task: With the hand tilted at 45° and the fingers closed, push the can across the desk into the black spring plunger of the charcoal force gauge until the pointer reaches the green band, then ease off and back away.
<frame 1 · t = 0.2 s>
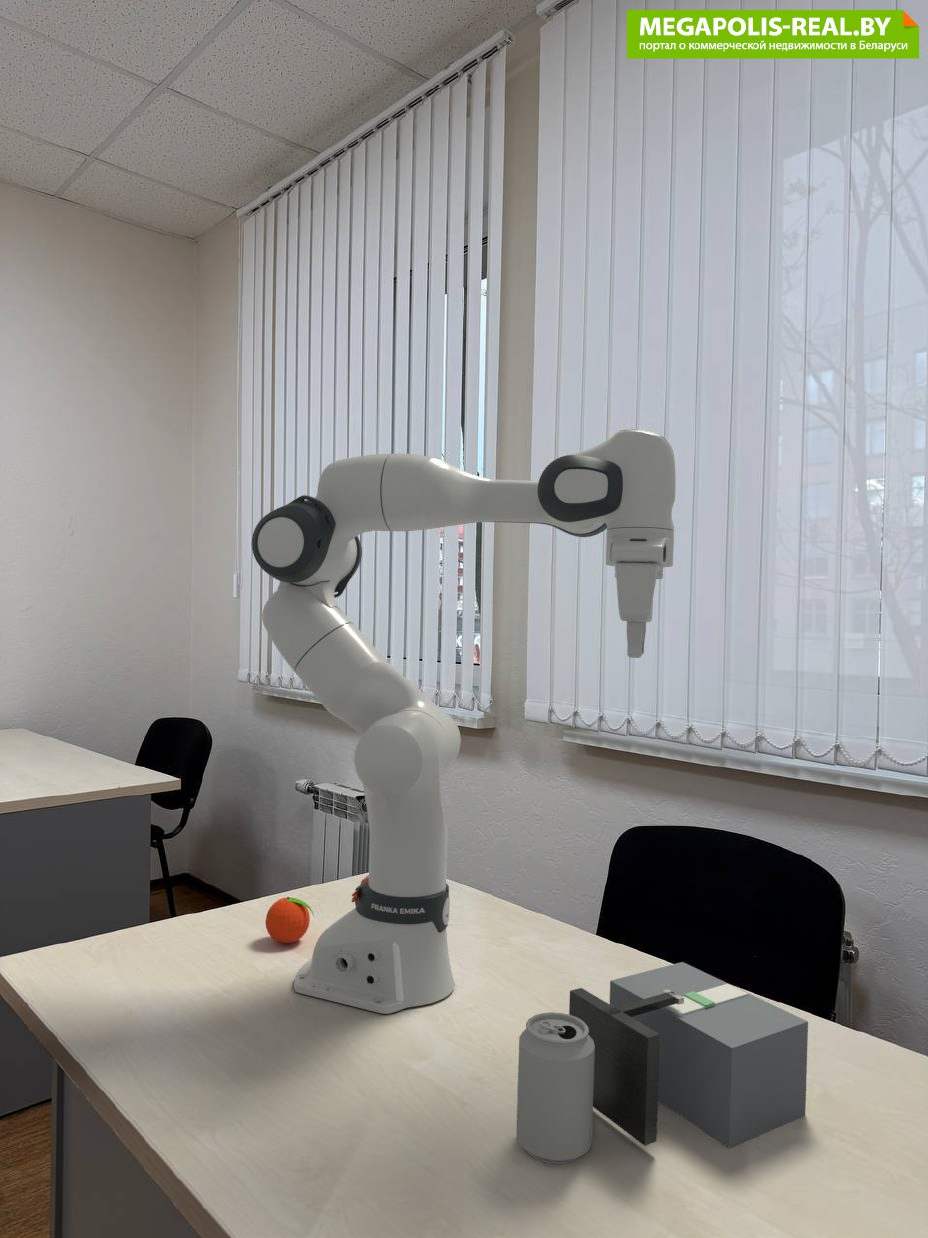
hand: (635, 656, 113), 48 cm above the table, fingers open, 8 cm apart
can: (553, 1147, 84), on the table
gauge housing: (663, 1103, 92), on the table
clementine: (290, 943, 135), on the table
gauge plunger: (640, 1052, 90), point 6 cm above the table, slide at 0.0 cm
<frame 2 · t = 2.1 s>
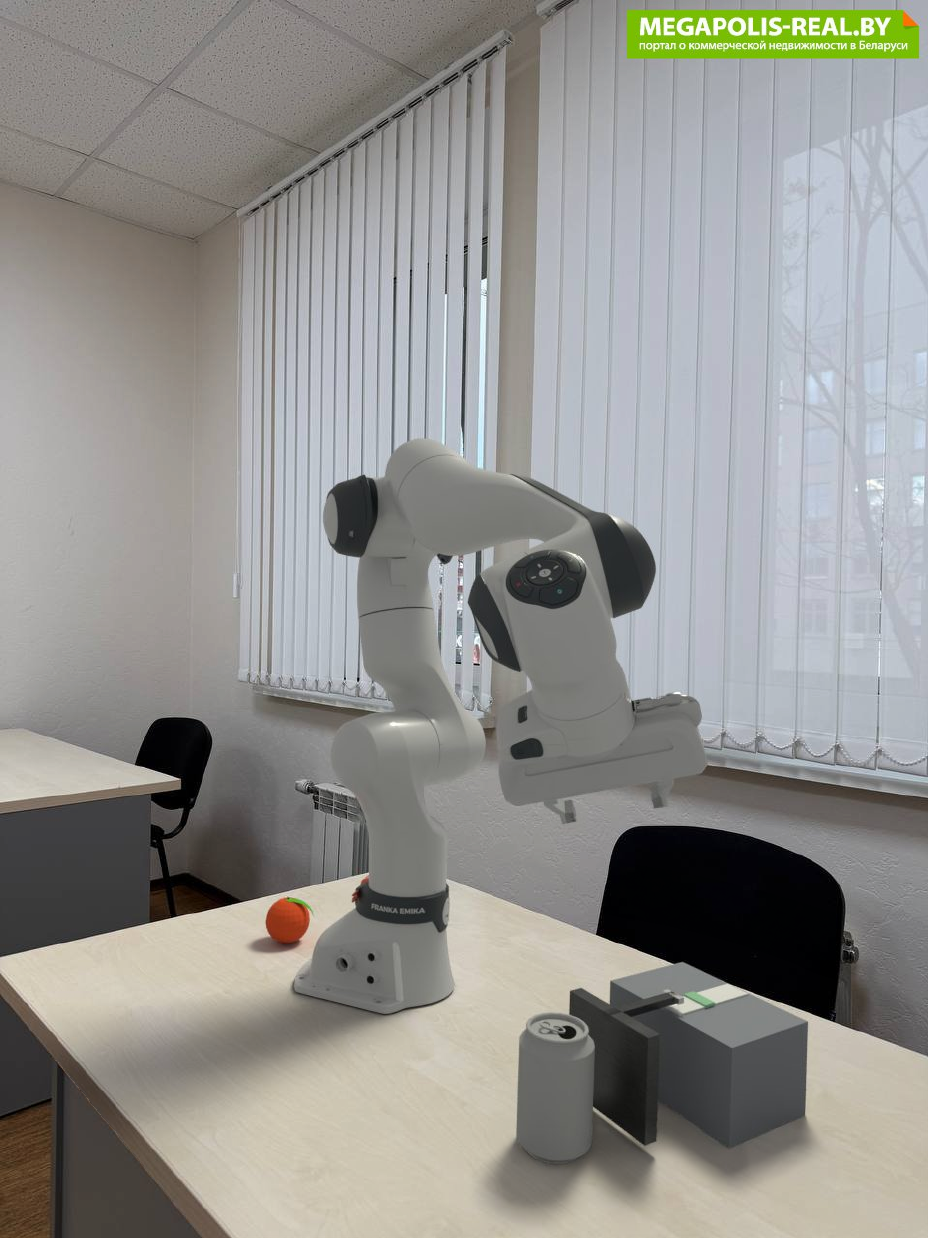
hand: (614, 811, 87), 33 cm above the table, fingers open, 8 cm apart
nothing on the table moved.
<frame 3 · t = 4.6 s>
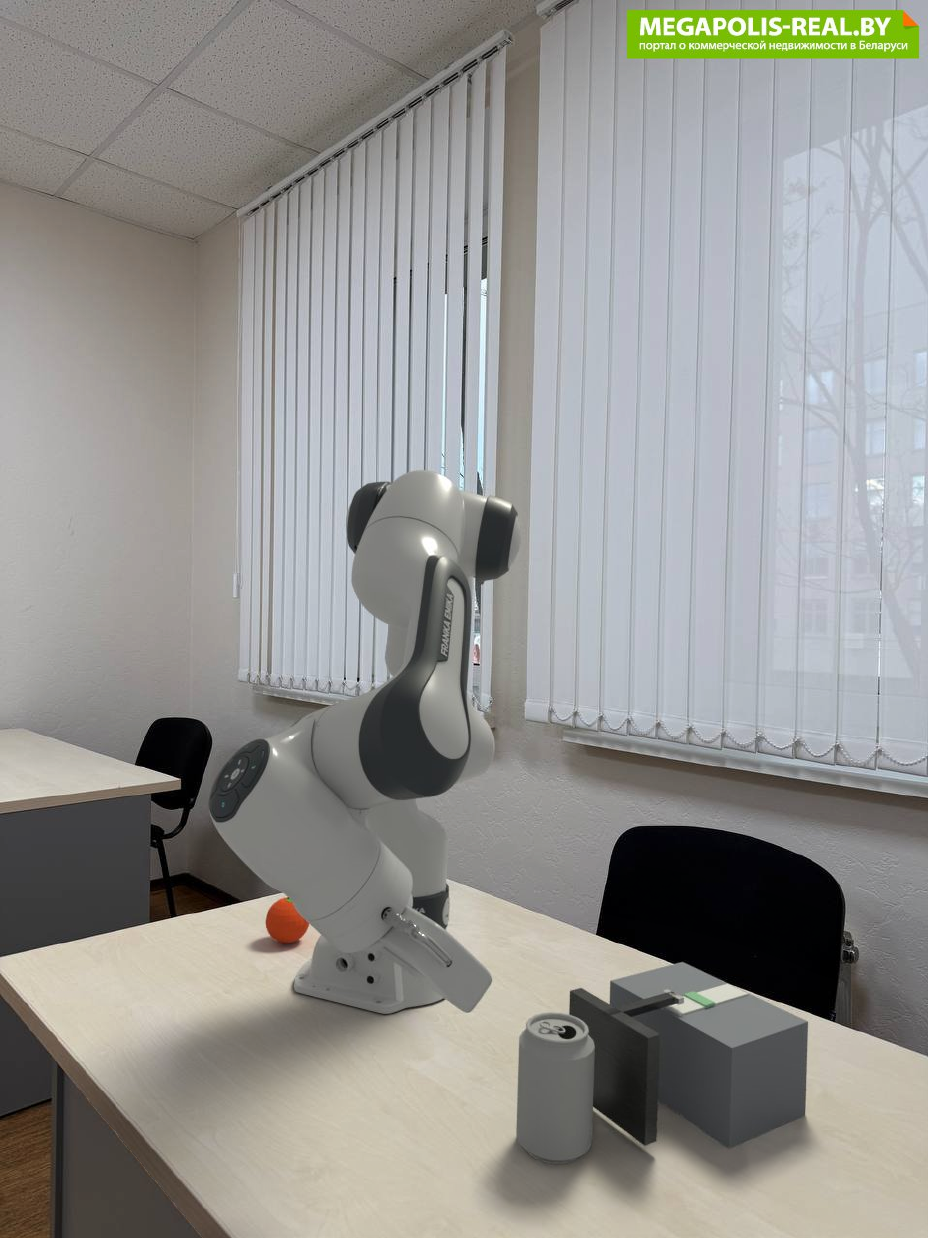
hand: (455, 988, 77), 18 cm above the table, fingers closed
nothing on the table moved.
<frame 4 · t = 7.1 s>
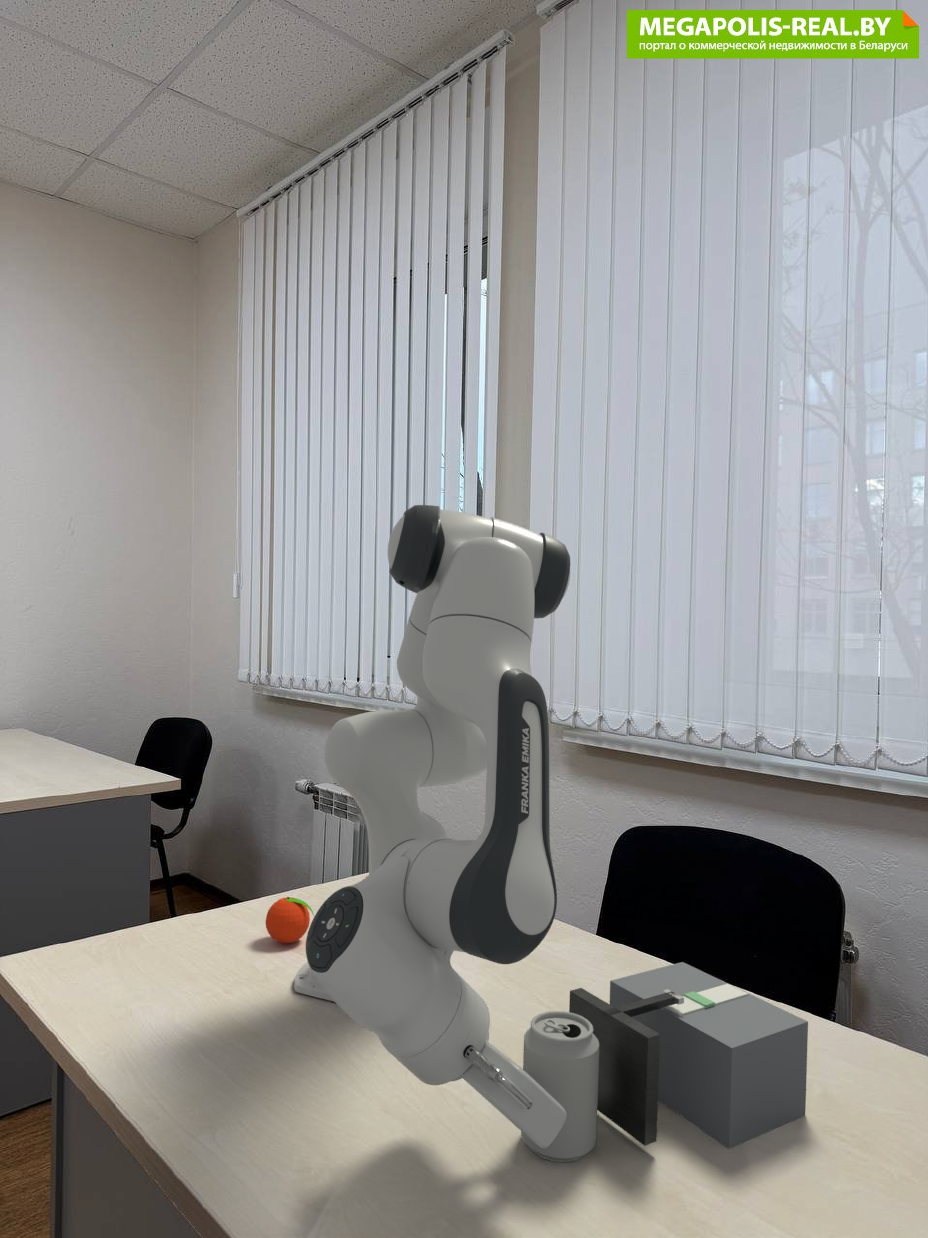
hand: (523, 1107, 82), 5 cm above the table, fingers closed, pressing on can
can: (558, 1145, 84), on the table, touching gripper
everything else where it was.
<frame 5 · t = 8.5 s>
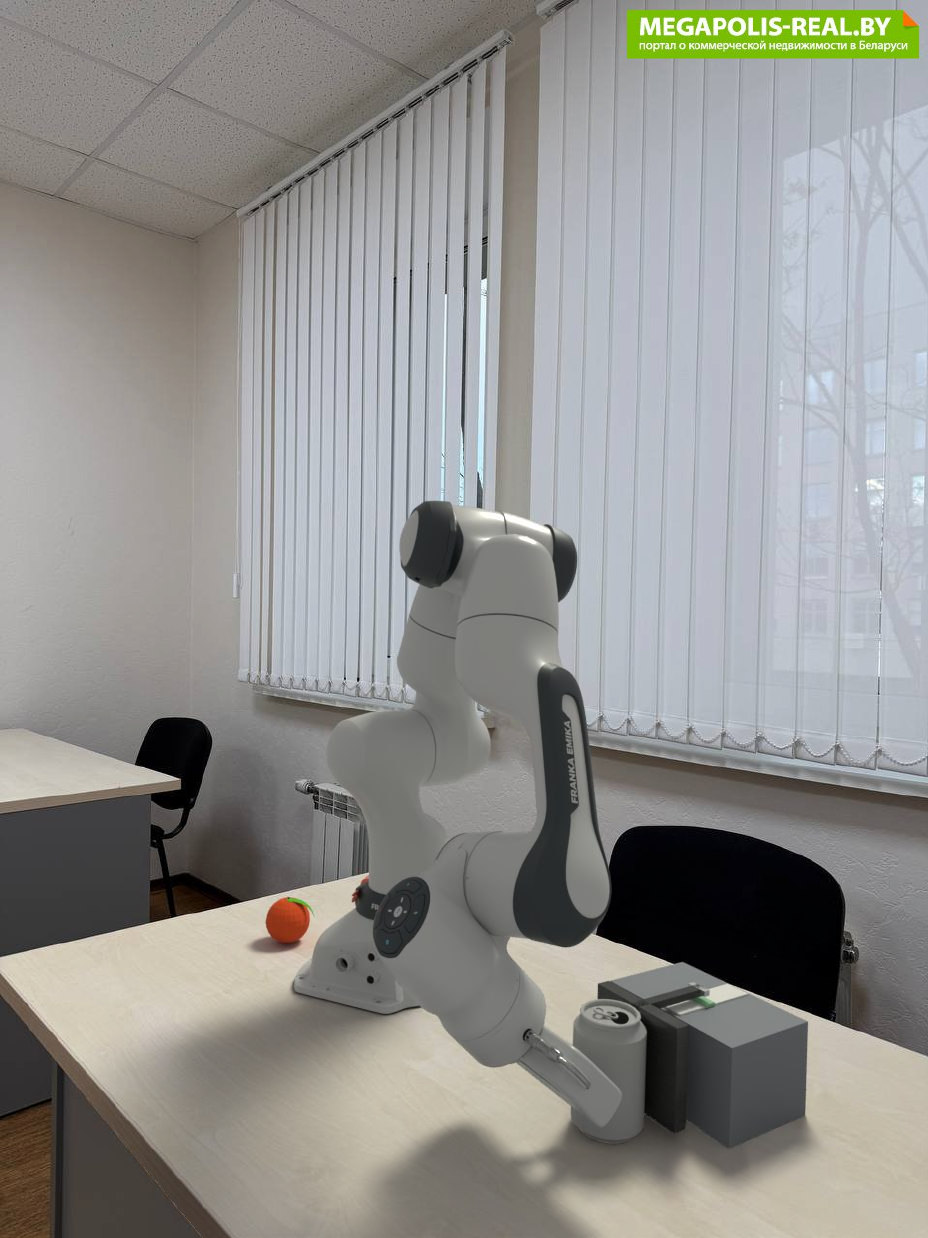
hand: (574, 1090, 85), 5 cm above the table, fingers closed, pressing on can
can: (606, 1128, 88), on the table, touching gauge plunger, gripper
gauge plunger: (667, 1043, 92), point 6 cm above the table, slide at 4.0 cm, touching can
everything else where it was.
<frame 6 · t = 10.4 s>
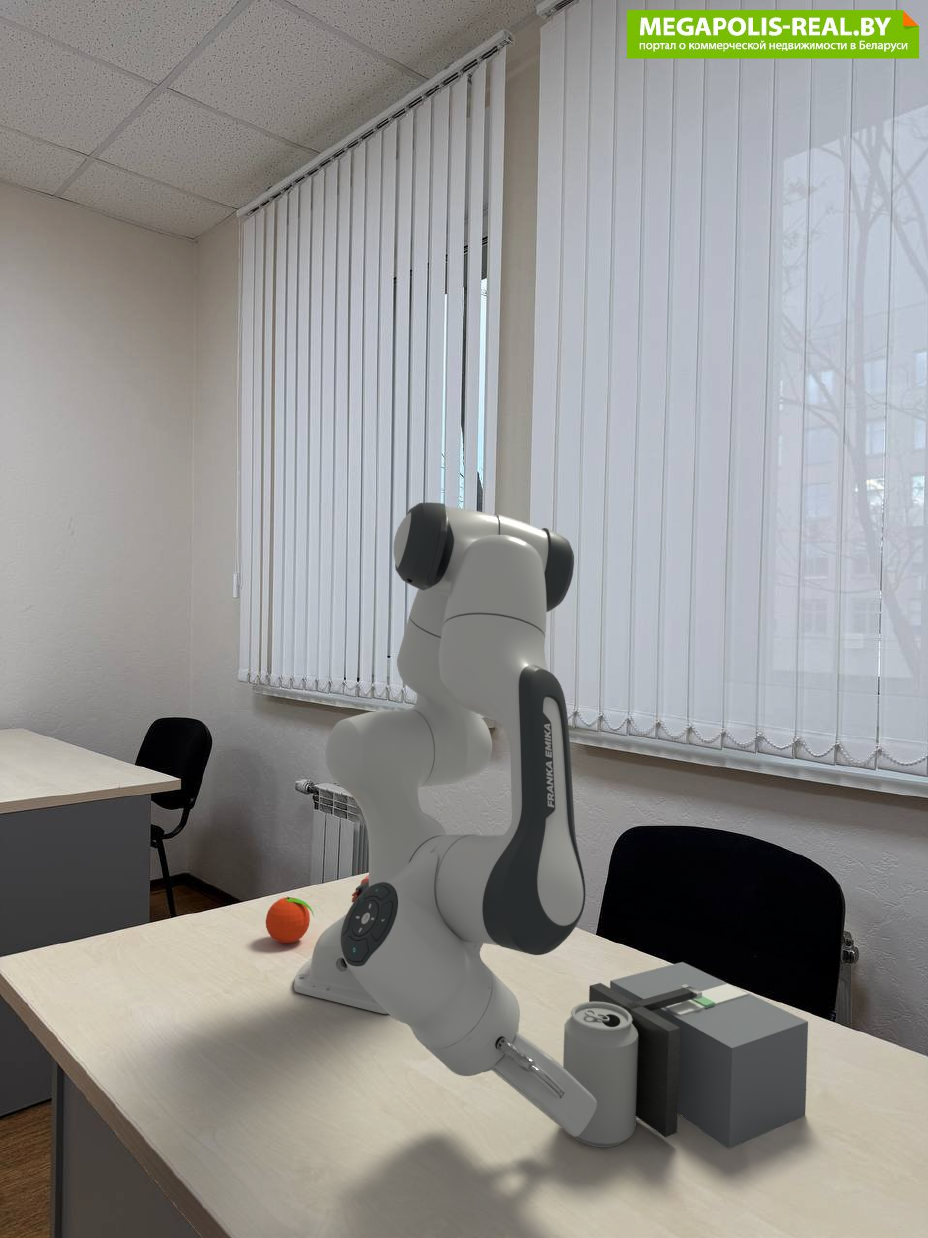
hand: (551, 1097, 84), 5 cm above the table, fingers closed
can: (597, 1132, 87), on the table, touching gauge plunger
gauge plunger: (659, 1046, 92), point 6 cm above the table, slide at 2.8 cm, touching can
everything else where it was.
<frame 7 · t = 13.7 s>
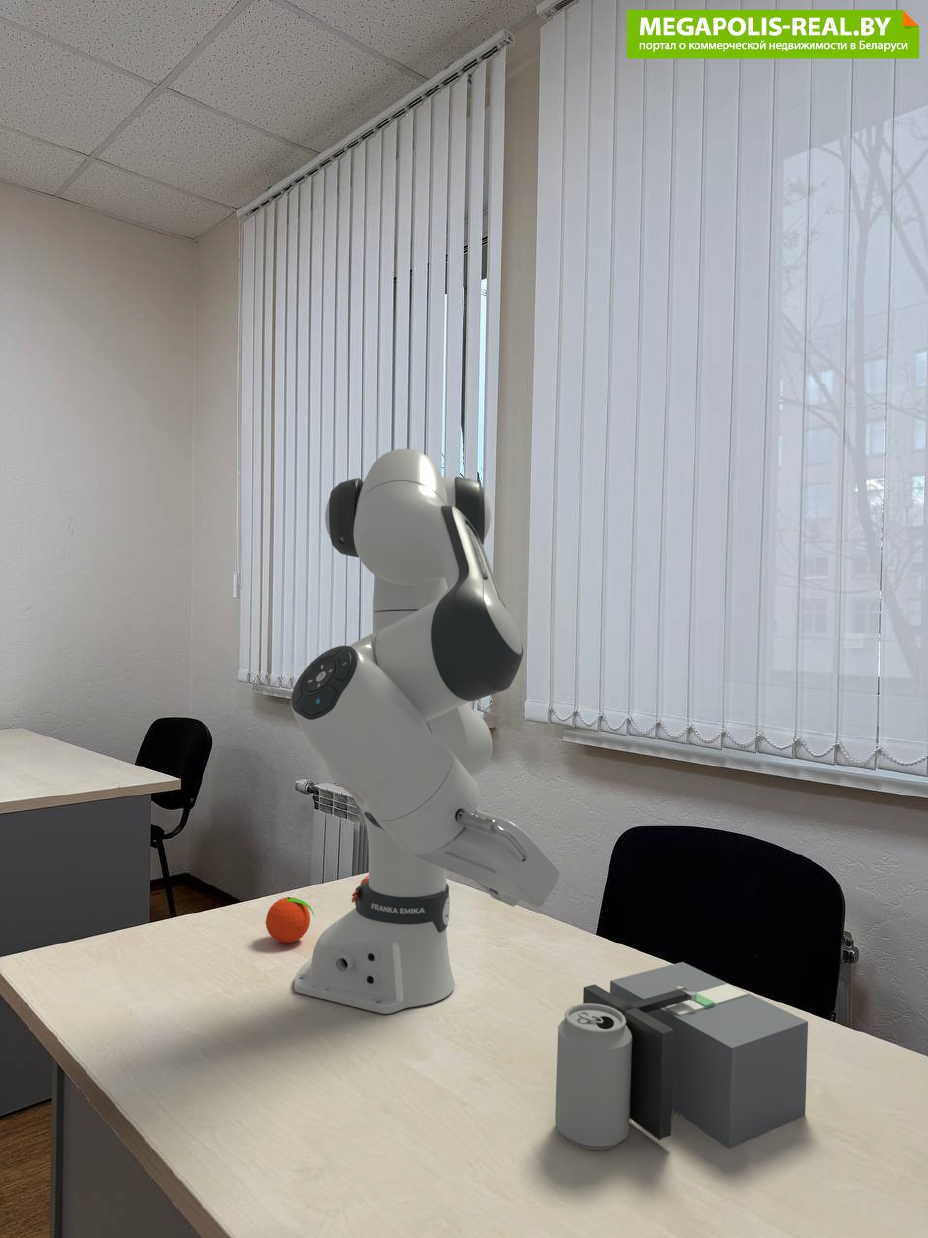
hand: (509, 897, 81), 26 cm above the table, fingers closed
gauge plunger: (654, 1048, 91), point 6 cm above the table, slide at 1.9 cm, touching can
everything else where it was.
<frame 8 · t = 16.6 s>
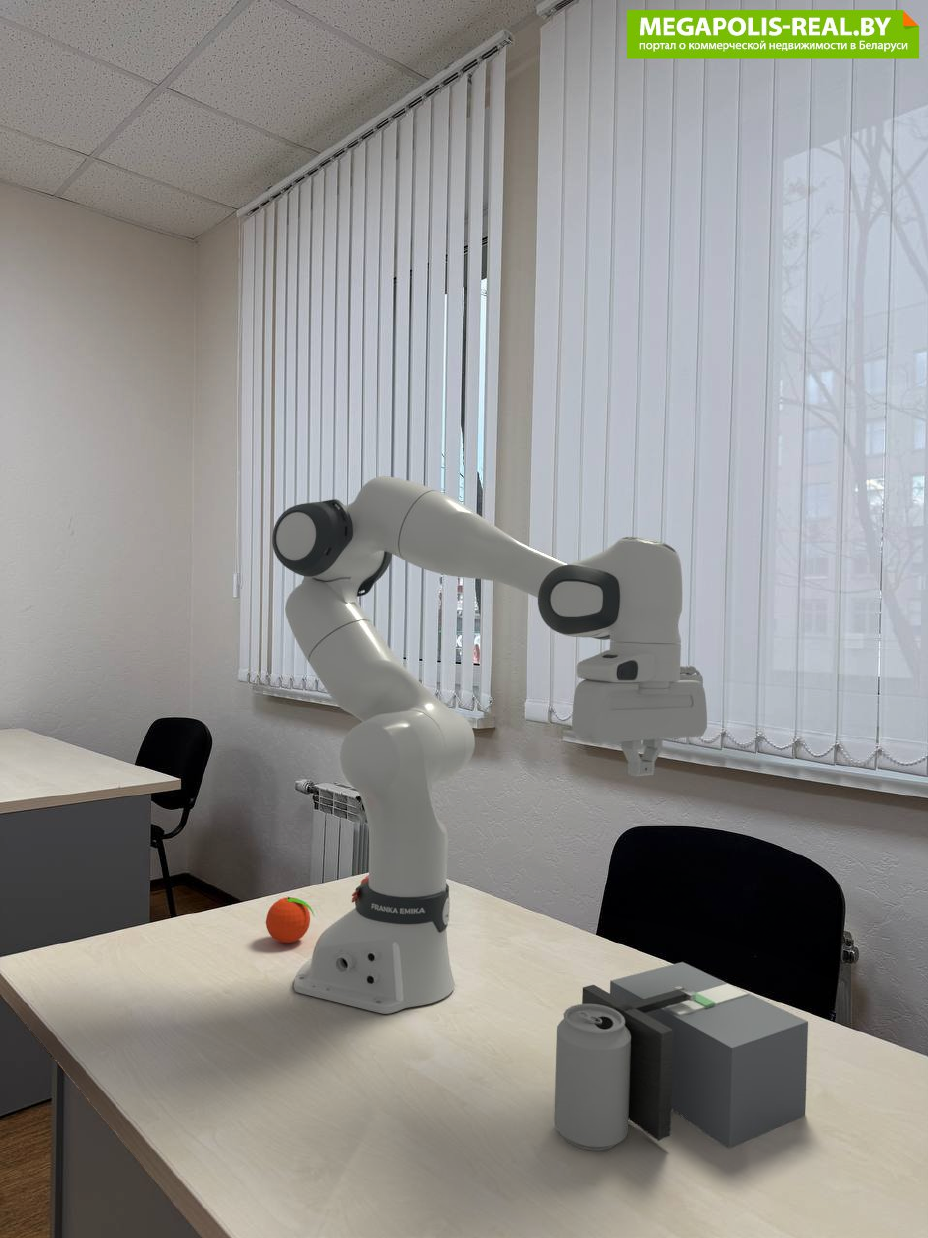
hand: (640, 775, 107), 33 cm above the table, fingers closed
nothing on the table moved.
at the end: can 10.5 cm from the gauge housing (horizontally); can tilted 0°; the gripper is holding nothing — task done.
